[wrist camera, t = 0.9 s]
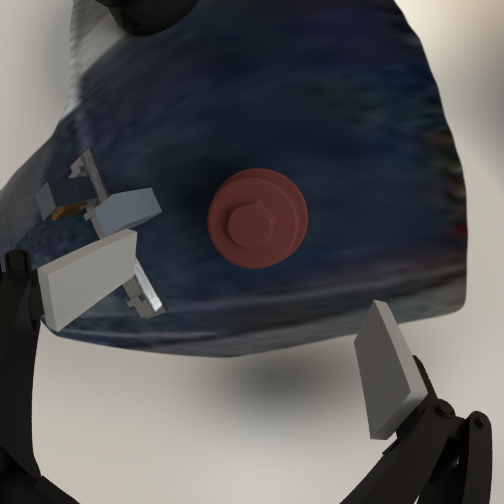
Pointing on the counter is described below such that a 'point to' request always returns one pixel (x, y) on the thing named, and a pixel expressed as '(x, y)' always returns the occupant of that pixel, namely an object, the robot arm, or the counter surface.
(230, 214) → the mechanical component
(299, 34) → the counter surface
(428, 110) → the counter surface
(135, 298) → the rail
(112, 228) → the pale blue-grey block
